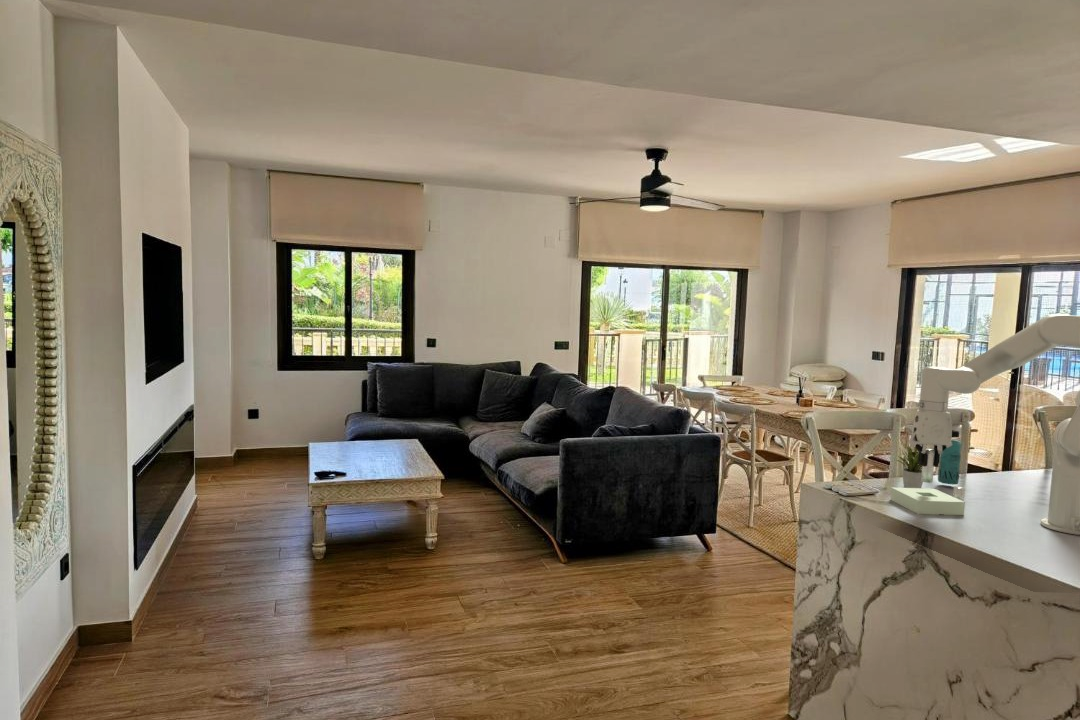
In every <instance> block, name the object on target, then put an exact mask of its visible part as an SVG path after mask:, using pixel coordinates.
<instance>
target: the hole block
mask: <svg viewBox="0 0 1080 720" xmlns="http://www.w3.org/2000/svg"><path fill="white" fill-rule="evenodd" d="M890 500H891V501H892V502H894V503H896V504H898V505H900V506H902V507H904V508H906V509H907V510H909V511H911V512H913V513H915V514H917V515H939V514H944V515H946V516H964V515H965V506H966V502H965V500H964V501H961V500H959V499H957V498H954V497H953V495H949V494H947V493H945V492H943V491H940V490H938V489H936V488H927V487H926V488H922V487H921V488H904V487H891V488H890ZM944 515H943V516H944Z"/></svg>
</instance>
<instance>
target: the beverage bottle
mask: <svg viewBox="0 0 1080 720" xmlns="http://www.w3.org/2000/svg"><path fill="white" fill-rule="evenodd" d="M952 438H960V431H959V430H954V429H952ZM952 438H951V442H952V446H950V447H948V448H946V449H945V450H944V451H943V452H942V454H940V460H939V465H938V467H937V469H938V471H937V481H938V483H942V484H946V485H954V486H955V485H959V482H960V473H961V469H960V468H961V466H960V465H961V459H962V457H961V456H962V455H961V453H962V446H963V444H962V443H961V441H959V440H958V439H952Z"/></svg>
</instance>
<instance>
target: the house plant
mask: <svg viewBox="0 0 1080 720" xmlns="http://www.w3.org/2000/svg"><path fill="white" fill-rule="evenodd" d="M909 445H910V444H908V443H906V445H905V446H906V449H907V452H906V451H905V450H903V449H901V448H900V447H898V446H896V445H894V444H893V446H895V447H896V448H898V449H899V450H900V451H901V452H902V454H903V455H904V457H905V458H906V459H907V460H906V459H904V458H903V457H901V456H899V455H897V457H898V458H899V459H900V460H899V459H896V460H895V461H896V462H899V463H901V464H902V465H903V466H904V467H905V468H902V469H901V473H902V483H903V488H922V486H923V483H924V482H922V481H921V478H922V465H919V462H918V456H919V452H918V451H917V449H916V448H915V447H914V446H913V449H912V448H911V447H910V446H909ZM931 449H933V447H932V448H931ZM913 452H914V453H913ZM902 461H903V462H902Z"/></svg>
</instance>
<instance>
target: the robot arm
mask: <svg viewBox="0 0 1080 720" xmlns="http://www.w3.org/2000/svg"><path fill="white" fill-rule="evenodd" d="M1058 346H1065V347H1072V348H1080V315H1074V314H1073V315H1071V314H1064V313H1054V314H1053V313H1052V314H1049V315H1047V316H1044V317H1042V318H1041V319H1038V320H1037V321H1035V322H1033V323H1032V324H1029V325H1028V326H1026V327H1025V328H1023V329H1022V330H1020V331H1018V332H1016V333H1014V334H1013V335H1012V336H1009V337H1007V338H1005V340H1002V341H1001V342H999V343H997V344H996V345H994V346H993V347H991V348H989V350H986V351H985V352H983V353H981V354H979V355H978V356H976V357H974V358H972V359H971V360H969V361H967V362H966V363H964V364H963V365H961V366H958V367H957V368H952V369H951V368H948V367H944V366H925V367H924V368H923V369H922V372H921V382H920V395H919V401H918V402H915V407H916V408H918V409H917V410H916V412H915V415H914V419H913V424H912V429H911V436H910V437H909V439H908V442H907V444H908V445H911V446H912V447H913V448H914V447H915V448H916V449H917V453H918V452H919V456H918V462H919V464H918V465H922V466H927V454H926V449H928V445H932V448H933V450H935V459H934V467H936V468H938V467H939V461H940V454H942V452H943V451H944V450H945V449H946V448H948V447H950V446H952V442H951V439H952V438H953V437H952V430H953V429H952V428H953V426H952V425H953V424H952V418H951V417H952V415H951V412H950V411H949V412H948V407H949V395H950V392H952V393H959V394H964V395H969V394H972V393H975V392H977V391H978V389H980V387H981V384H983V383H985V382H987V381H989V380H990V379H993V378H994V377H995V376H998V375H1000V374H1003V373H1005V372H1006V371H1011V370H1014V369H1018V368H1020V367H1022V366H1024V365H1026V364H1027V363H1030V362H1032V361H1033V360H1035V359H1036V358H1038V357H1040V356H1041V355H1043V354H1045V353H1047V352H1049V351H1051V350H1052V349H1054V348H1056V347H1058ZM1074 403H1075V406H1076V409H1075V410H1074V413H1073V414H1072V416H1071V417H1069V418H1065V419H1063V420H1062V421H1060V422H1059V423H1058V424H1057V425H1056V427H1055V429H1054V432H1053V437H1052V439H1053V440H1052V441H1053V451H1052V452H1053V453H1052V466H1051V467H1052V468H1051V469H1052V470H1051V477H1050V479H1051V480H1050V488H1049V498H1048V499H1049V501H1048V512H1047V514H1048V515H1047V517H1045V518H1042V519H1040V525H1041V526H1043V527H1044V528H1046V529H1050V530H1053V531H1056V532H1061V533H1065V534H1068V535H1069V534H1070V535H1076V536H1080V389H1079V390H1078V392H1077V393H1076V395H1075V402H1074Z"/></svg>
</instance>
